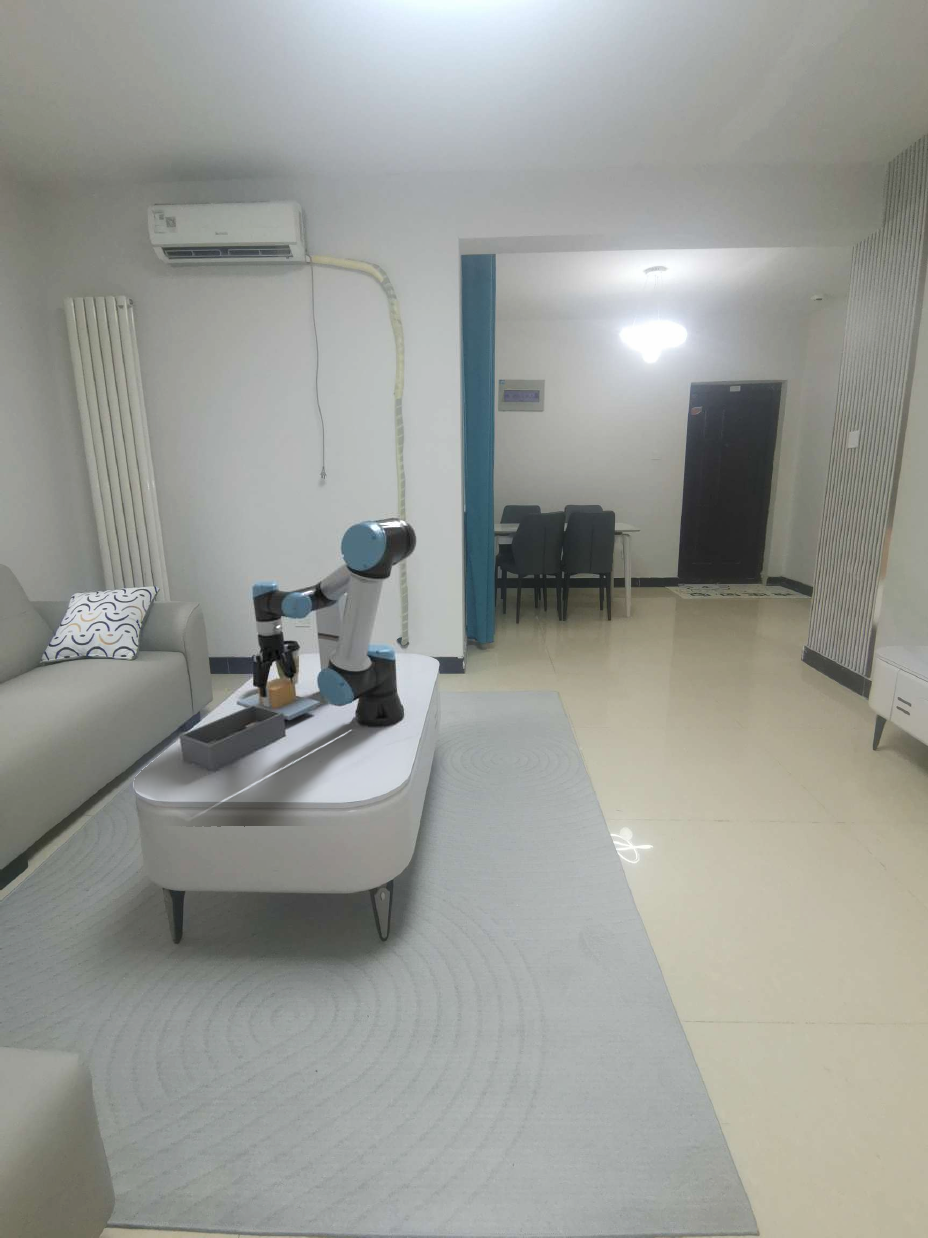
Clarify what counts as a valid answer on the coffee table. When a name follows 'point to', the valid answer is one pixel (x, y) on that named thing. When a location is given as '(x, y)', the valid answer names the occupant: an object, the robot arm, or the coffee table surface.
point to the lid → (282, 699)
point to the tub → (232, 737)
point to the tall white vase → (329, 629)
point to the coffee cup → (295, 656)
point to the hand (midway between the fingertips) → (278, 701)
